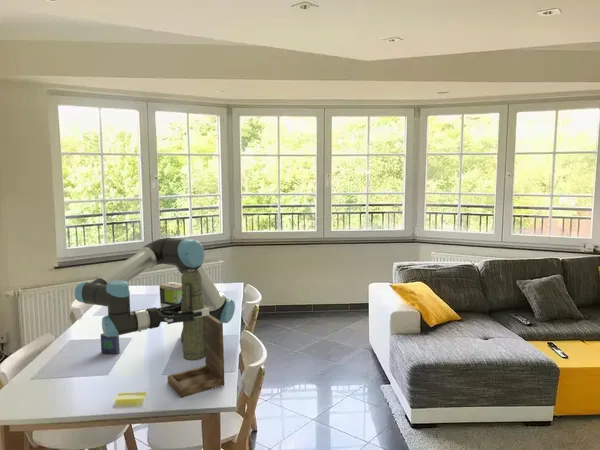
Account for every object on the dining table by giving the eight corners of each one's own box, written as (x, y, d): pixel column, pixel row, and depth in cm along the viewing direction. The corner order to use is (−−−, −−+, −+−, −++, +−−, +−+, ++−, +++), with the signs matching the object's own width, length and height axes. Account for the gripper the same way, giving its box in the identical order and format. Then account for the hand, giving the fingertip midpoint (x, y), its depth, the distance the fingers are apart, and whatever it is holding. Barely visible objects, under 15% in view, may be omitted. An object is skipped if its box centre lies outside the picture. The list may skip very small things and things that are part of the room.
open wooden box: (209, 371, 205) (207, 312, 202) (224, 385, 193) (222, 322, 189) (167, 382, 195) (164, 321, 192) (181, 398, 183) (178, 332, 179)
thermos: (208, 350, 198) (205, 266, 194) (203, 362, 187) (199, 273, 182) (186, 350, 198) (183, 266, 194) (180, 362, 186) (176, 273, 182)
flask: (121, 352, 226) (119, 330, 224) (117, 355, 223) (115, 333, 221) (103, 351, 228) (101, 329, 226) (99, 353, 225) (98, 331, 223)
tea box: (190, 308, 291) (189, 284, 288) (177, 312, 282) (176, 288, 280) (172, 304, 298) (171, 280, 296) (159, 308, 290) (158, 284, 288)
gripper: (139, 320, 189) (193, 310, 202) (156, 337, 171) (215, 325, 184) (138, 302, 188) (193, 292, 201) (155, 317, 170) (214, 306, 183)
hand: (203, 308), depth 192 cm, fingers closed on thermos, 9 cm apart
